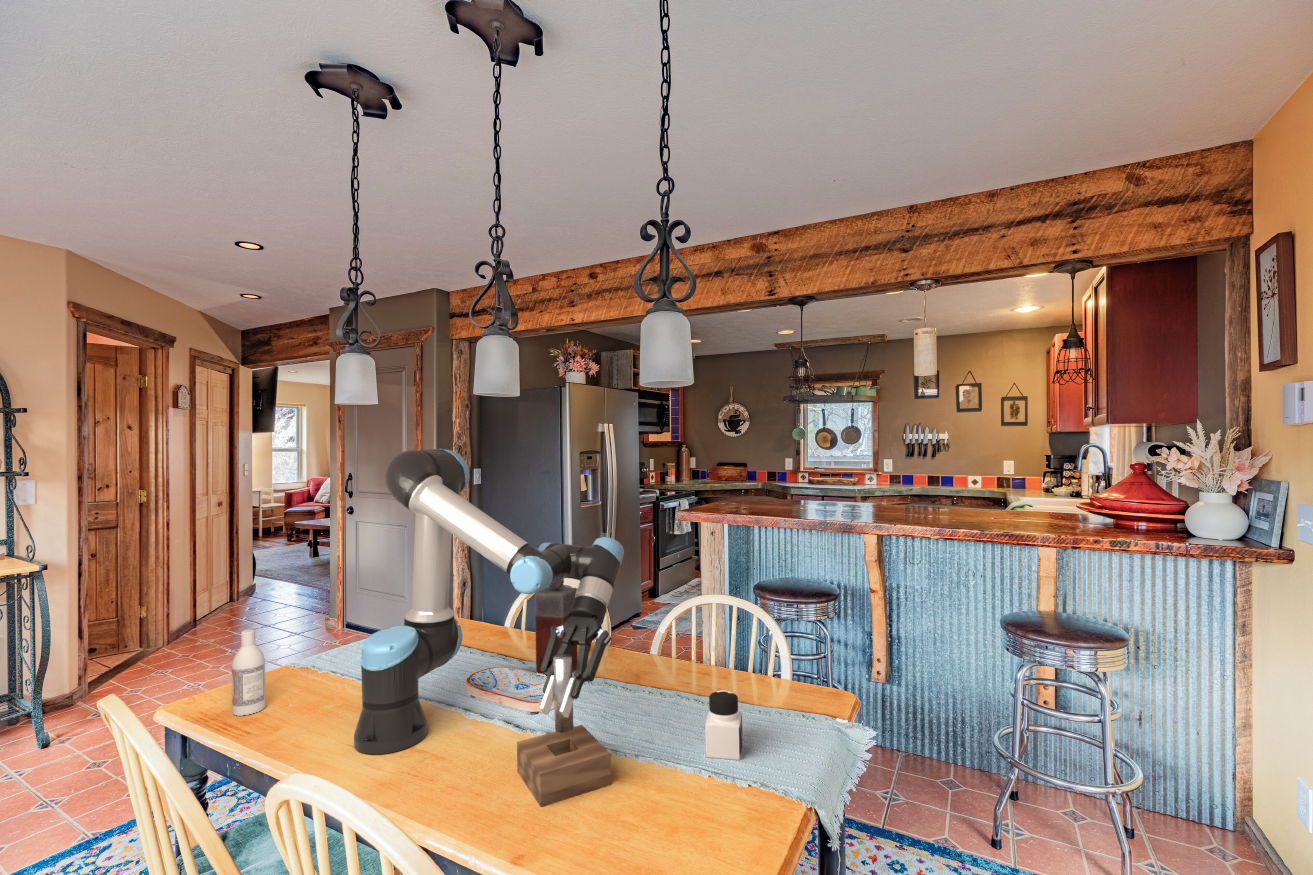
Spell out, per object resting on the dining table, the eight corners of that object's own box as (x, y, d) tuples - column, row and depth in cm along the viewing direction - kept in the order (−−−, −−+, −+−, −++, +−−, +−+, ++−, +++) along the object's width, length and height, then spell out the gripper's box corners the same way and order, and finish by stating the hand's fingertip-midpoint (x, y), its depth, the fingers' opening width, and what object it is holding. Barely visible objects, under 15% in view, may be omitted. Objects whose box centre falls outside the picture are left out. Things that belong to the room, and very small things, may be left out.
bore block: (517, 771, 123) (516, 741, 123) (582, 753, 130) (581, 724, 130) (540, 807, 111) (540, 773, 111) (611, 784, 118) (610, 753, 118)
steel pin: (552, 727, 121) (550, 655, 121) (569, 722, 123) (567, 652, 123) (558, 734, 118) (557, 661, 118) (576, 729, 120) (574, 657, 120)
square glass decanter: (581, 664, 182) (579, 569, 182) (564, 678, 172) (562, 577, 172) (554, 661, 185) (552, 568, 185) (535, 675, 174) (534, 576, 174)
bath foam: (236, 707, 156) (234, 628, 156) (268, 702, 159) (266, 625, 159) (229, 719, 150) (228, 636, 150) (262, 713, 153) (261, 632, 153)
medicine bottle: (740, 760, 126) (739, 702, 126) (705, 757, 127) (704, 699, 127) (742, 744, 133) (741, 688, 133) (709, 741, 134) (708, 686, 134)
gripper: (631, 615, 132) (599, 726, 117) (562, 609, 138) (524, 715, 122) (620, 596, 127) (586, 710, 112) (550, 591, 133) (508, 699, 117)
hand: (553, 712), depth 117 cm, fingers closed on steel pin, 3 cm apart
